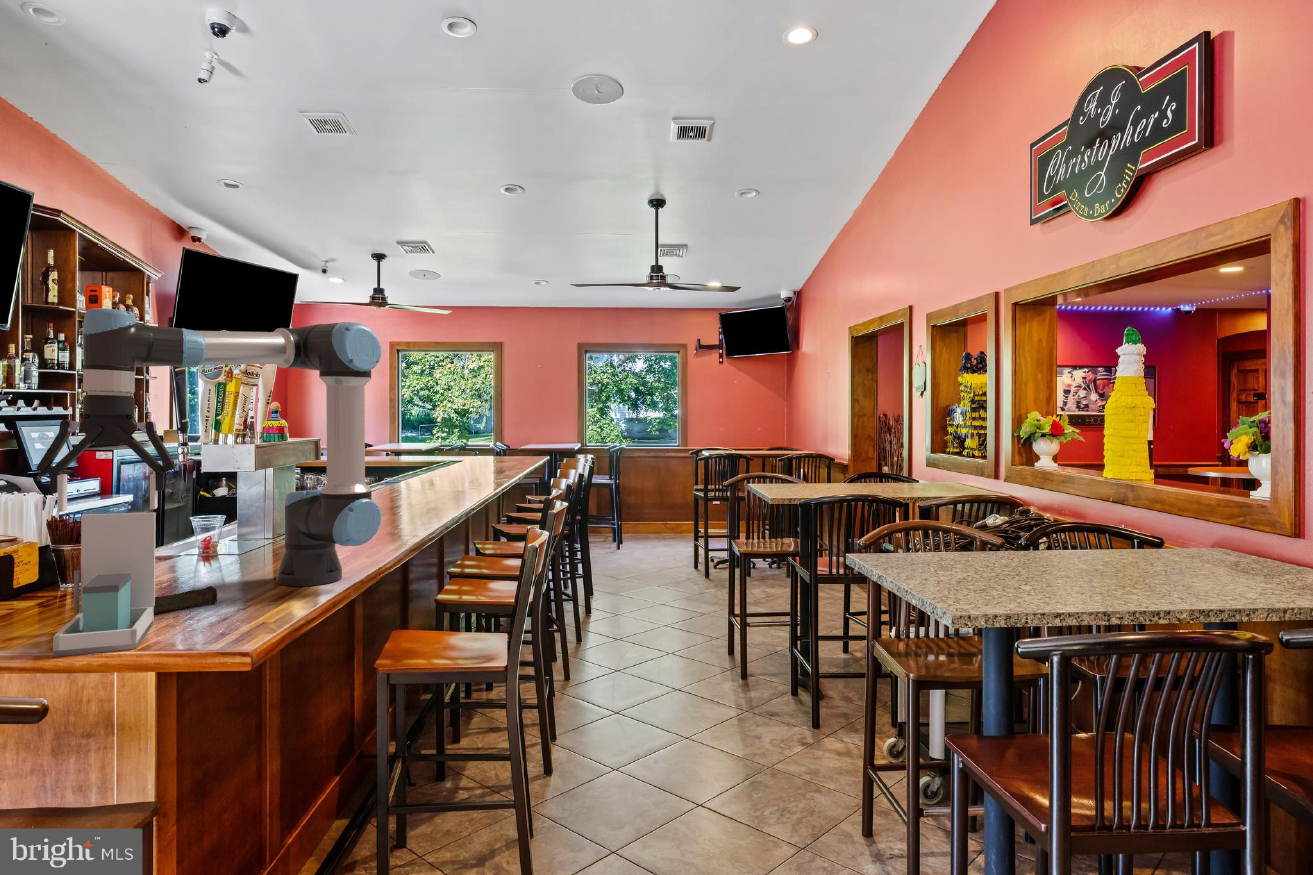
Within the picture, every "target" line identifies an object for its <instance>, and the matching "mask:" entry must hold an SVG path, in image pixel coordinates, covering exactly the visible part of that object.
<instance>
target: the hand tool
mask: <svg viewBox="0 0 1313 875" xmlns="http://www.w3.org/2000/svg"><path fill="white" fill-rule="evenodd" d="M217 602H218V591H217V588H215V587H214V586H213V585H211V586H210V585H209V586H206V587H205V588H201V589H193V590H192V589H191V590H187V591H183V592H179V593H173V594H172V593H171V594H168V595H167V594H166V595H163V596H159V595H158V596H155V605H154V614H157V613H163V612H167V611H168V612H169V611H173V610H180V609H185V608H190V607H197V606H204V605H207V604H211V605H216V604H217Z"/></svg>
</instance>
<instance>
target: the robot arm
mask: <svg viewBox="0 0 1313 875" xmlns="http://www.w3.org/2000/svg"><path fill="white" fill-rule="evenodd" d="M82 323H83V324H82V343H83V344H82V346H83V348H82V349H83V352H82V353H83V354H82V355H83V369H82V370H83V371H82V372H83V373H82V390H83V391H84V392H86V393H87V394H85V395H84V396H83V397H82V407H83V408H82V419H81V421H76V420H71V419H63V420H61V421H60V423H59V429H58V432H57V434H56V436H55V437H54V439H53V440H52V442H51V444H50V446H48V449H47V450H46V452H45V453H44V454H43V457H42V458H41V460H40V461H39V463H38V464H37V466H36V471H38V472H42V473H46V474H48V476H50V477H49V480H50V481H49V484H50V485H49V490H50V493H52V494H53V493H54V494H56V493H57V498H56V499H57V502H56V503H57V504H56V509H57V513H60V512H61V513H63V512H66V511H67V510H68V473H67V474H66V473H63V471H65V470H66V469H67V468H68V467H69V466H70V465H71V464H73V462H74V461H75V460H76V459H77V458H78V457H80V456H81V455H82V454H83V453H84V452H85V451H86V450H87V449H88V448H89V447H91V446H92V445H93V444H95V445H97V446H105V445H111V446H120V445H125V446H127V447H128V448H129V449H131V451H132V452H134V454H136V455H137V456H138V457H139V458H140V459H141V460H142V461H143V462H144V463H145V464H146V465H147V466H148V467H149V468H150V469H151V470H152V471H153V472H154V473H150V474H149V510H156V509H157V508H158V495H159V494H158V491H159V492H161V491H163V490H164V489H165V473H168V472H170V471H172V470H174V469H176V468H177V465H176V463H175V461H174V460H173V458H172V456H171V454H170V453H169V451H168V450H167V447H166V446H165V444H164V443H163V441H162V439H161V438H160V436H159V434H158V433H157V425H156V422H155V421H153V420H148V421H145V422H143V421H142V422H137V421H136V415H135V413H136V412H135V411H136V410H135V409H136V408H135V406H136V405H135V404H136V403H135V401H136V400H135V398H134V396H133V395H132V394H133V393H135V392H136V387H135V386H136V385H135V384H136V381H135V380H136V378H135V374H136V368H139V367H140V368H141V367H178V368H179V367H180V368H196V367H198V366H226V365H227V366H228V365H230V366H232V365H233V366H235V365H239V366H240V365H276V366H277V367H278V368H281V369H289V368H291V369H304V370H311V371H319V372H318V373H319V374H318V375H319V376H318V378H319V379H320V380H321V381H322V382H323V383H324V384H325V386H326V484H325V485H324V486H323V487H322V488H321V489H310V490H300V491H299V490H298V491H291V492H288V494H286V496H285V502H284V552H283V554H282V558H281V561H279V566H278V568H277V571H276V578H275V580H276V583H277V584H278V585H282V586H289V587H309V586H319V585H326V584H331V583H334V582H335V583H336V582H338V581H339V580H341V579H342V578H343V568H342V565H341V564H342V563H341V562H340V558H339V556H338V552H337V550H336V545H339V546H341V547H358V546H362V545H365V544H366V543H368V542H369V541H371V540H372V539H373V537H374V536H375V535H376V534H377V533H378V531H379V530H380V527H381V524H382V511H381V508H380V506H378V504H377V502H375V501H374V500H372V498H373V497H372V493H373V492H372V488H371V487H370V486H369V485H368V484H367V483H366V452H365V451H366V448H365V447H366V433H365V432H366V426H365V425H366V424H365V423H366V418H365V417H366V416H365V415H366V414H365V413H366V411H365V410H366V409H365V406H366V403H365V401H366V400H365V396H366V394H365V393H366V392H365V388H366V385H367V384H369V382H370V381H371V380H372V370H373V369H375V368H376V367H377V364H379V363H380V361H381V358H382V345H381V342H380V339H379V338H378V336H377V334H376V333H374V331H372V328H370V327H368V326H367V325H366V324H363V323H359V322H351V321H347V322H346V321H342V322H333V323H330V322H329V323H319V324H311V325H306V326H300V327H289V328H287V327H280V328H279V327H278V328H276V329H275V330H273V331H270V332H269V331H232V330H231V331H230V330H229V331H228V330H227V331H221V330H220V331H219V330H217V331H216V330H193V329H187V328H184V327H182V328H179V327H178V328H177V327H171V326H170V327H169V326H158V325H150V324H149V325H148V324H141V323H139V322H138V323H137V320H136V316H135V313H133V312H131V311H127V310H122V309H116V308H114V309H113V308H103V307H99V308H98V307H95V308H89V309H88V310H86V311H85V312H84V317H83V322H82ZM77 429H80V430H81V431H82V432H83V434H85V436H84V437H83V438H82V439H80V441H79V442H78V443H77V444H76V445H75V446H74V447H73V448H71V449H70V451H68V452H67V453H66V454H65V455H64V456H63V457H62V458H61V459H60V460H59V461H58V462H57V463H56V464H55V465H54V466H53V465H52V464H53V463H54V461H55V460H56V458H57V457H58V455H59V454H60V452H61V451H62V449H63V447H64V446H65V445H66V443H67V441H68V439H69V437H70V436H71V433H75V432H76V431H77ZM138 429H139V430H141V433H142V434H146V436H147V437H148V440H149V441H150V443H151V444H152V447H153V449H154V450H155V452H156V453H157V455H158V456H159V458H160V460H161V461H162V463H163V464H164V465H162V464H161V463H159V461H158V460H157V459H156V458H155V457H153V455H151V454H150V452H149V451H147V449H145V448H144V447H143V445H141V443H140V442H139V441H138V440H137V439H136V438H135V437H134V436H133V435H134V434H135V432H136V431H137V430H138Z"/></svg>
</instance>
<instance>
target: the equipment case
mask: <svg viewBox="0 0 1313 875" xmlns="http://www.w3.org/2000/svg"><path fill="white" fill-rule="evenodd" d="M156 515H157V512H154V511H153V512H125V513H124V512H123V513H119V512H118V513H92V514H91V513H88V514H87V513H84V514H80V517H81V518H80V522H81V523H80V525H81V526H80V535H81V536H80V545H81V546H80V570H74V572H73V614H77V615H75V616H74V617H73V618H72V619H71V620H70V621H69V622H68V623H66V625H64V626H63V627H62V628H60V630H59V631H58V632H56V633H55V634H54V635H53V638H52V639H53V641H52V642H53V643H52V644H53V645H52V646H53V647H52V651H53V652H52V654H53V655H52V657H53V658H54V657H65V656H66V657H67V656H76V655H86V654H96V653H108V652H115V651H116V652H117V651H126V650H127V651H129V650H137V648H138V647H139V645H140V644H141V642H142V641H143V640H144V638H145V637H146V635H147V634H148V633H149V631H150V629H151V628H152V627H153V625H154V624H155V620H154V616H155V615H154V614H155V613H154V605H155V597H156V528H157V527H156V517H157V516H156ZM127 573H131V580H130V625H129V627H128V628H127V629H121V630H110V631H98V632H87V633H83V587H84V586H85V585H86V584H87V583H89V582H90V581H91V580H92V579H93V578H95V577H96V576H97V575H109V574H127Z"/></svg>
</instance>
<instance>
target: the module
mask: <svg viewBox="0 0 1313 875" xmlns="http://www.w3.org/2000/svg"><path fill="white" fill-rule="evenodd" d="M130 580H131V573H127V574H109V575H97V576H96V577H95V578H93V579H92V580H91V581H90V582H89V583H87V584H86V585H85V586H84V587H83V633H87V632H98V631H110V630H121V629H127V628H128V627H129V625H130Z"/></svg>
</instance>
